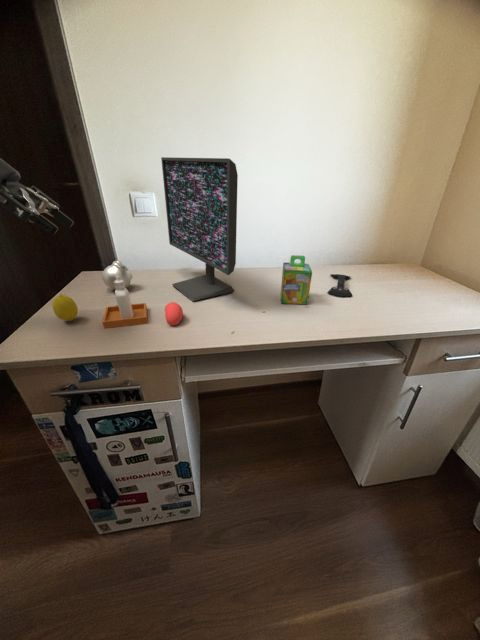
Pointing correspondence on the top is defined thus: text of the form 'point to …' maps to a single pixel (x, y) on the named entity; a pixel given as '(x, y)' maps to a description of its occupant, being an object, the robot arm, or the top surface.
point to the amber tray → (115, 320)
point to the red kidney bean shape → (173, 313)
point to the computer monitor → (202, 218)
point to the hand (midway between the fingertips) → (64, 228)
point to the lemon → (65, 307)
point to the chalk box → (296, 281)
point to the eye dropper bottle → (123, 299)
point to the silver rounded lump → (116, 274)
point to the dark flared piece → (340, 286)
